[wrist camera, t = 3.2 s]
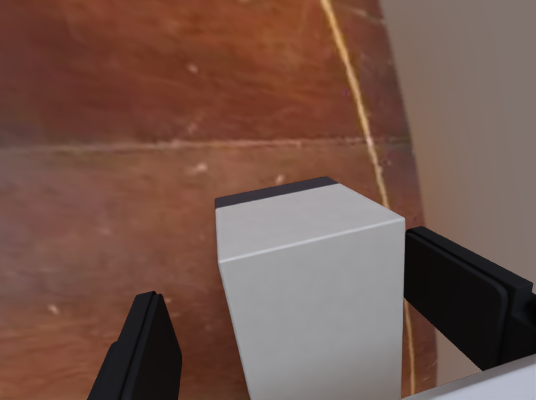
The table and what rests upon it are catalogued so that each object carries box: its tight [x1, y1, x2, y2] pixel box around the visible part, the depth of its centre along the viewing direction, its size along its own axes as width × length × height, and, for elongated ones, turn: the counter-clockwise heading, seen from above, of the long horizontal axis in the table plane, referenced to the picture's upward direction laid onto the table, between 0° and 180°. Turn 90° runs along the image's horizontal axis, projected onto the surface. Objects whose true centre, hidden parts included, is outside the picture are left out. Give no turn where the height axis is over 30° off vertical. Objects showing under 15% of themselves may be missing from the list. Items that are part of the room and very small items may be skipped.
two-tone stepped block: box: [215, 176, 405, 400], centre depth 10 cm, size 12×5×5 cm, turn 8°
